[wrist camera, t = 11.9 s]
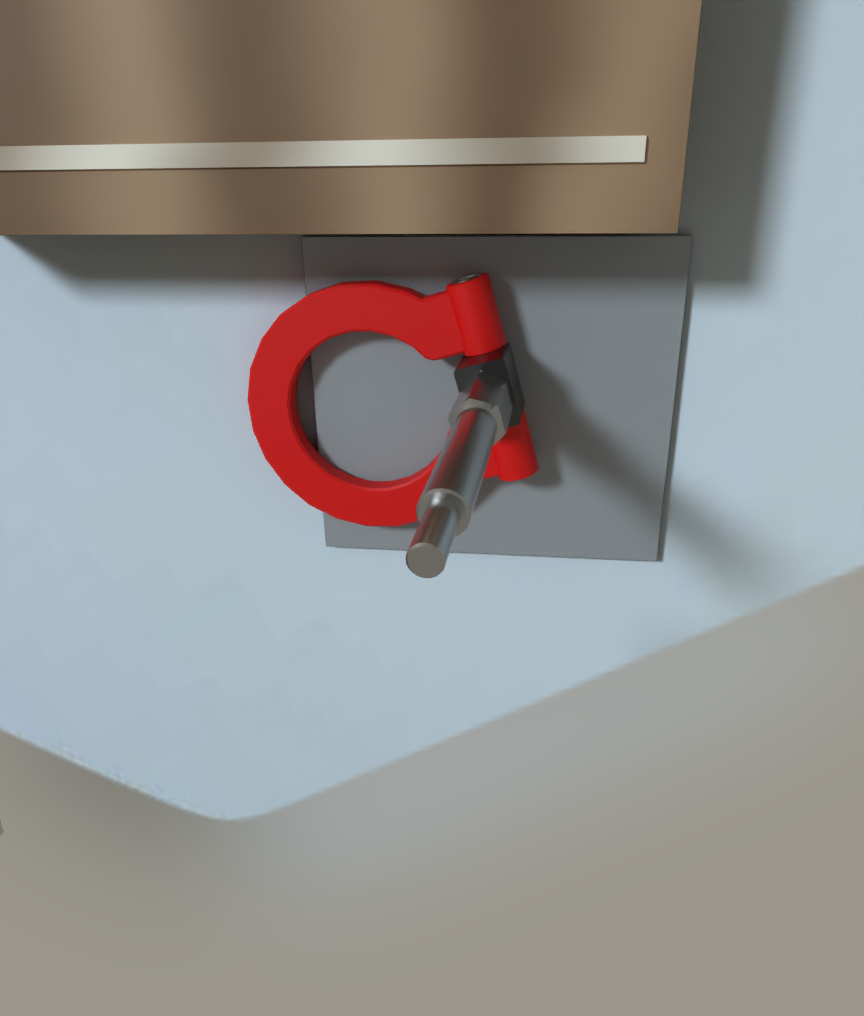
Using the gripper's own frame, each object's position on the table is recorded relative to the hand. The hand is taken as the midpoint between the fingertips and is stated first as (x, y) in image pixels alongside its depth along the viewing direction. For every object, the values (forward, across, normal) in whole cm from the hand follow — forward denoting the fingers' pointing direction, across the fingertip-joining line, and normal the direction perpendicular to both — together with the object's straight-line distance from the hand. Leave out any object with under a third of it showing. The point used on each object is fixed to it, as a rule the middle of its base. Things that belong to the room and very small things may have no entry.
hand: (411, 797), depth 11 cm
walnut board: (+18, -6, +11) cm, 22 cm away
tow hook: (+18, -4, 0) cm, 18 cm away
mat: (+18, 0, 0) cm, 18 cm away
